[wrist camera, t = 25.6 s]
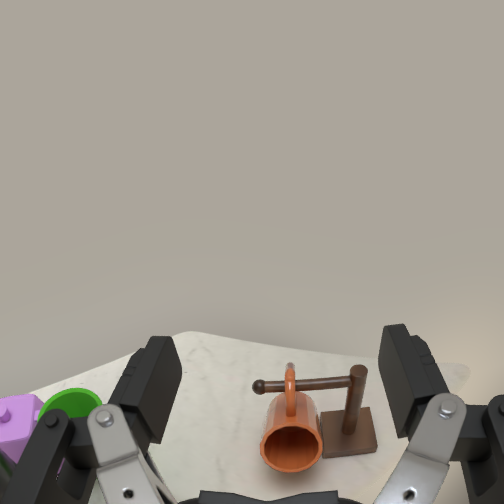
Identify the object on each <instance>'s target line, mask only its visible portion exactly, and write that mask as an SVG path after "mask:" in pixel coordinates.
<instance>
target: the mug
mask: <svg viewBox="0 0 504 504" xmlns="http://www.w3.org/2000/svg"><path fill="white" fill-rule="evenodd" d="M322 447H323V442H322V436H321V430H320V425H319V419H318V414H317V409H316V406H315V403H314V402H313V400H312V399H311V398H310V397H309V396H308V395H306V394H304V393H302V392H298V391H295V365H294V364H293V363H292V362H289V363H287V365H286V371H285V392H284V393H281V394H279V395H278V396H276V397H275V398H274V399H273V400H272V402H271V403H270V406H269V409H268V411H267V416H266V420H265V425H264V429H263V434H262V438H261V442H260V454H261V456H262V458H263V459H264V461H265V463H266V464H268V465H269V466H270V467H272V468H273V469H275V470H278V471H282V472H286V473H288V472H299V471H302V470H305V469H308V468H309V467H311V466H312V465H313V464H314V463H316V462H317V461H318V459H319V457H320V455H321V453H322Z"/></svg>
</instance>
